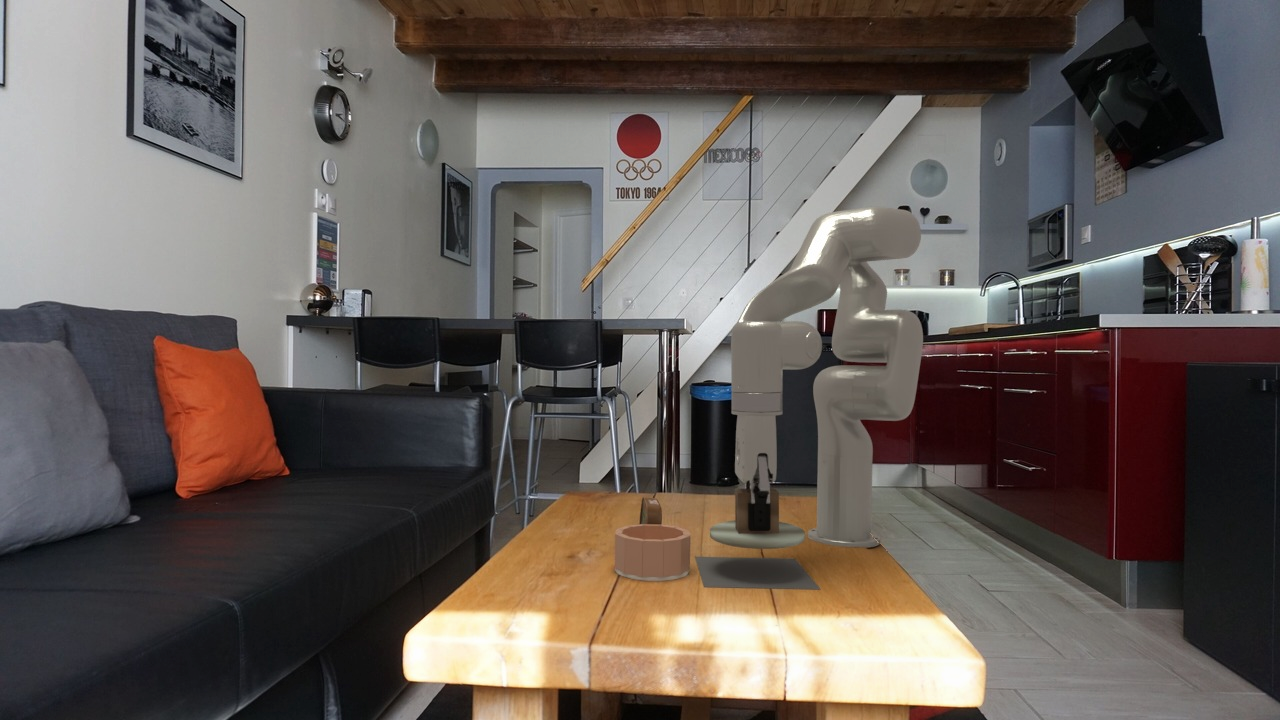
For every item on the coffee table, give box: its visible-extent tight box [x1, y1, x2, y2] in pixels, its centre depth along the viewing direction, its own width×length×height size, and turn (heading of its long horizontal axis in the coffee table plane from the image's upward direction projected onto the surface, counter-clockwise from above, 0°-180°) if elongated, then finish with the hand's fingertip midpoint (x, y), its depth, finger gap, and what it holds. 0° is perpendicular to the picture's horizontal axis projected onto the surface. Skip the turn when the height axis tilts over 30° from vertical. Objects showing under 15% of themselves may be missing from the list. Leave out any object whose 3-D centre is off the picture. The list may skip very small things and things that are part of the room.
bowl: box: [614, 524, 691, 582], centre depth 105 cm, size 11×11×6 cm
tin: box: [638, 496, 663, 525], centre depth 119 cm, size 15×3×8 cm, turn 3°
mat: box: [694, 556, 822, 591], centre depth 105 cm, size 16×16×1 cm
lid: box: [709, 487, 806, 550], centre depth 106 cm, size 14×14×7 cm
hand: (757, 526), depth 106 cm, fingers closed on lid, 3 cm apart
